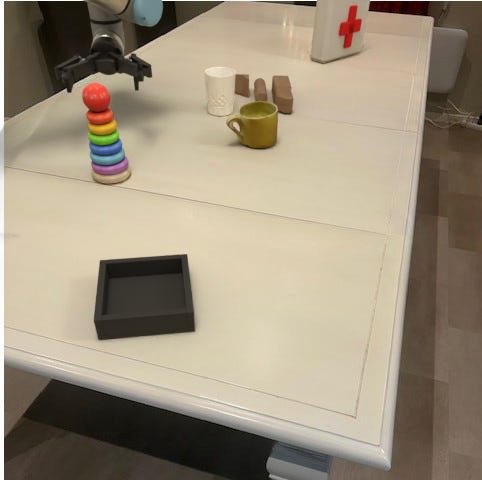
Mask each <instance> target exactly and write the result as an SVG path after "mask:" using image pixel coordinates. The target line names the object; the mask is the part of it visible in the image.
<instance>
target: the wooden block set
mask: <svg viewBox="0 0 482 480" xmlns="http://www.w3.org/2000/svg"><path fill="white" fill-rule="evenodd" d="M271 80H272V81H271V95H272V101H273V103H274V104H275V105H276V106H277V108H278V112H280V113H283V114H291V113H292V112H293V107H294V97H293V93H292V84H291V81H290V77H289V76H288V75H272V78H271ZM253 87H254V97H255V101H267V102H268V91H267V86H266V81H265V80H264V78H262V77H259V78H256V79H255V80H254V81H253ZM235 94H236V95H239V96H242V97H245V98H250V97H249V95H250V74H248V73H236V78H235Z"/></svg>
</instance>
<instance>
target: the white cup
mask: <svg viewBox="0 0 482 480" xmlns="http://www.w3.org/2000/svg"><path fill="white" fill-rule="evenodd" d="M236 74H237V71H236V70H235V69H234V68H232V67H231V68H230V67H227V66H214V67H209V68H207V69H205V70H204V80H205V81H204V82H205V95H206V96H205V97H206V102H207V103H206V104H207V112H208V114H210V115H212V116H217V117H226V116H230V115H232V114H233V113H234V102H235V94H236V93H235V78H236Z"/></svg>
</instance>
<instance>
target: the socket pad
mask: <svg viewBox="0 0 482 480" xmlns="http://www.w3.org/2000/svg"><path fill="white" fill-rule="evenodd" d="M97 275H98V276H97V285H96V294H95V305H94V313H93V325H94V328H95V332H96V336H97V339H98V341H103V340H116V339H126V338H127V339H128V338H137V337H147V336H158V335H159V336H160V335H170V334H181V333H192V332H196V324H195V323H196V322H195V310H194V301H193V293H192V284H191V276H190V275H191V274H190V265H189V258H188V253H182V254H168V255H154V256H140V257H139V256H138V257H126V258H125V257H124V258H109V259H100V260H99V264H98V274H97Z"/></svg>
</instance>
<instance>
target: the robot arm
mask: <svg viewBox="0 0 482 480" xmlns="http://www.w3.org/2000/svg"><path fill="white" fill-rule="evenodd" d="M82 1H84V2H86V3H87V9H88V13H89V20H90V21H89V22H90V28H91V33H92V42H91V45H90V50H89V55H87V56H86V57H85V58H82V56H81V55H80V54H73V56H72V57H71V58H70V59H68V60H65V61H63V62H61V63H60V64H57V65H56V66H55V67H54V72H55V76H56V80H57V81H62V84H64V85H65V88H66V92H67V94H72V91H73V88H74V86H75V85H74V84H75V80H76V79H78V78H81V77H84V76H87V75H96V74H99V73H100V74H102V75H105V76H113V75H115V74H120V75H122V74H126V75H127V76H131V77H133V86H134V91H135V92H136V91H137V92H138V91H139V90H140V83H142V82H143V83H144V81H145V78H149V79H151V78H153V70H152V64H151V63H149V62H147V61H146V60H144V59H142V58H140V57H139V56H137V54H136V53H135V52H133V53H130V55H128V57H125V48H126V34H125V32H124V27H123V26H124V25H123V20H124V21H126V22H129V23H133V24H135V25H139V26H141V27H153V26H156V25H157V24H158V23H159V22H160V20H161V18H162V15H163V11H164V4H163V3H164V2H163V0H82Z"/></svg>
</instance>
